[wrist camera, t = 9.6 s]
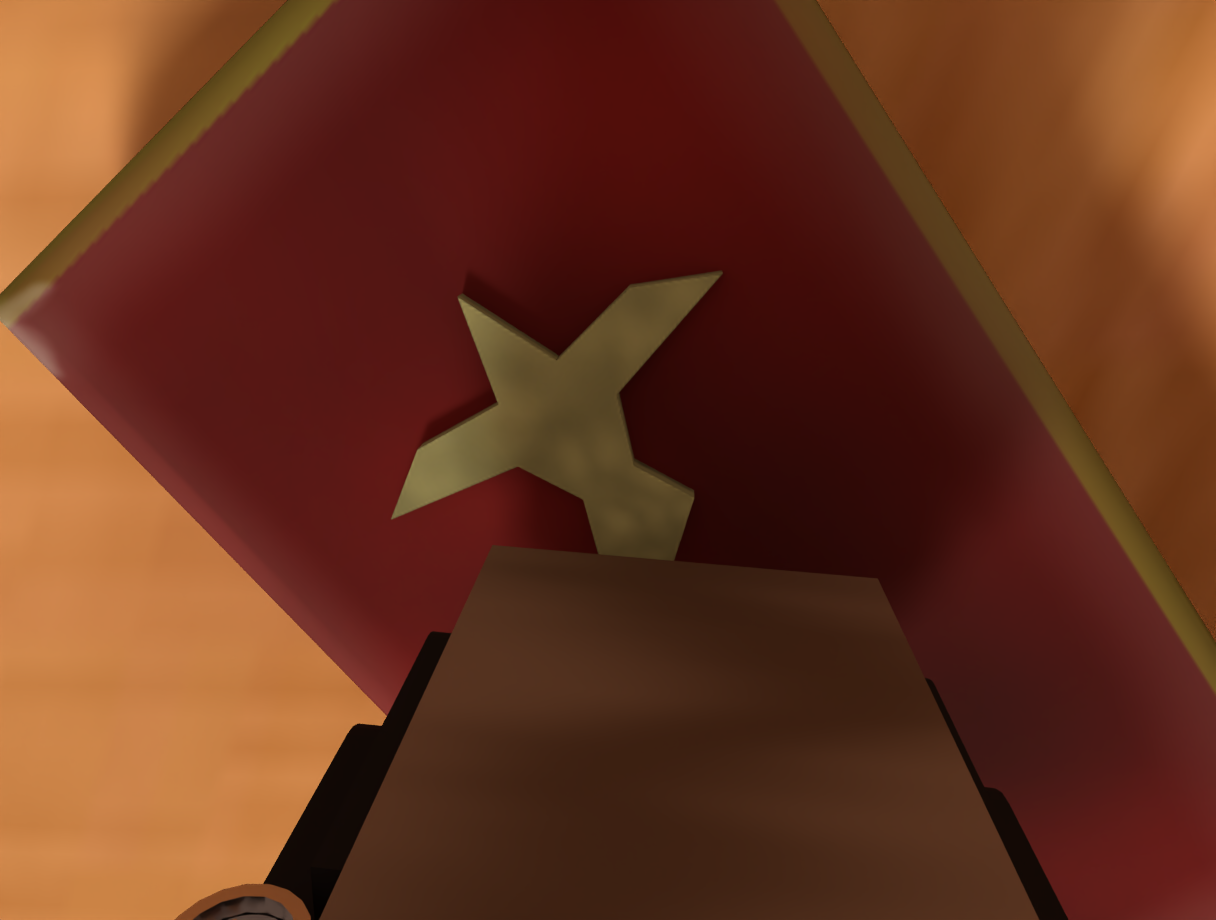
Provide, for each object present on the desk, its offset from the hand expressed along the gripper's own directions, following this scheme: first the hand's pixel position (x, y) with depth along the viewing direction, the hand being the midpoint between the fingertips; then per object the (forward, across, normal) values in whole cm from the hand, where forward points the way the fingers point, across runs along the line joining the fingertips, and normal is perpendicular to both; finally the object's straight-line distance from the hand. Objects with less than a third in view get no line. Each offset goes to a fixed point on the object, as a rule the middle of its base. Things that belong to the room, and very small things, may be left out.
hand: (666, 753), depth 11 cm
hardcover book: (+7, -1, 0) cm, 7 cm away
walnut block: (+1, 0, 0) cm, 1 cm away
